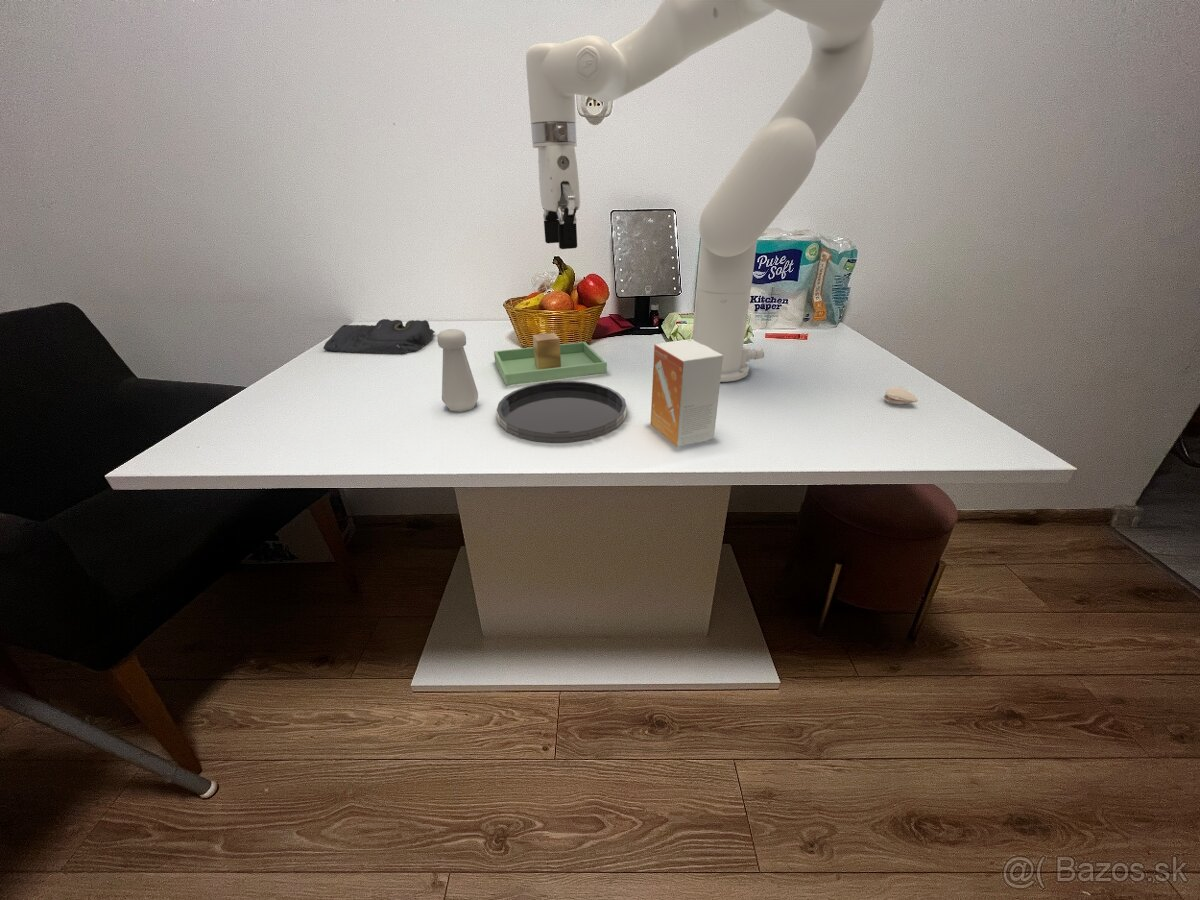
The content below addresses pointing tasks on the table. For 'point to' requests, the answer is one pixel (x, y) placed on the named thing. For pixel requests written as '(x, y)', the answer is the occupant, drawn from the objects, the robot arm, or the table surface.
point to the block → (546, 351)
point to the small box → (685, 391)
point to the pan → (561, 411)
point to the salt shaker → (456, 372)
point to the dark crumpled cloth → (381, 337)
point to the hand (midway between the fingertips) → (560, 245)
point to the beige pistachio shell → (899, 396)
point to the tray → (574, 363)
